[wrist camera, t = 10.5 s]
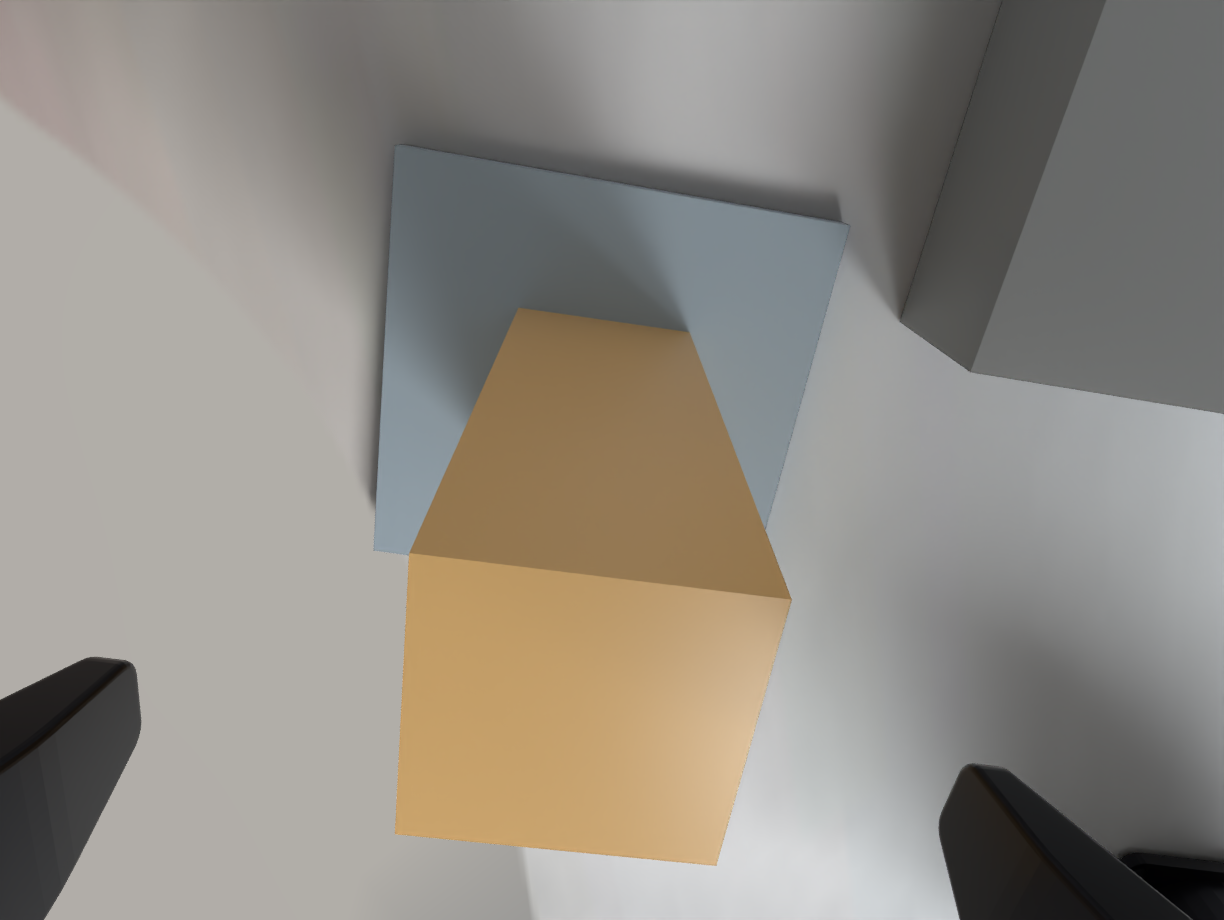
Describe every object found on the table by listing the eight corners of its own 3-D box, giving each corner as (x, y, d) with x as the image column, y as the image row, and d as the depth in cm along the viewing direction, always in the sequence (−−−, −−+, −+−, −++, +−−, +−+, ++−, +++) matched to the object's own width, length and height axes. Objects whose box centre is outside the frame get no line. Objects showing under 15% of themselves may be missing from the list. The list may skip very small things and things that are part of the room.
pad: (842, 222, 18) (849, 226, 17) (741, 589, 22) (745, 601, 21) (401, 144, 17) (394, 145, 17) (379, 539, 21) (373, 550, 21)
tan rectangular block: (689, 332, 18) (791, 599, 8) (660, 485, 20) (715, 865, 10) (518, 308, 18) (408, 553, 8) (502, 464, 20) (395, 834, 10)
